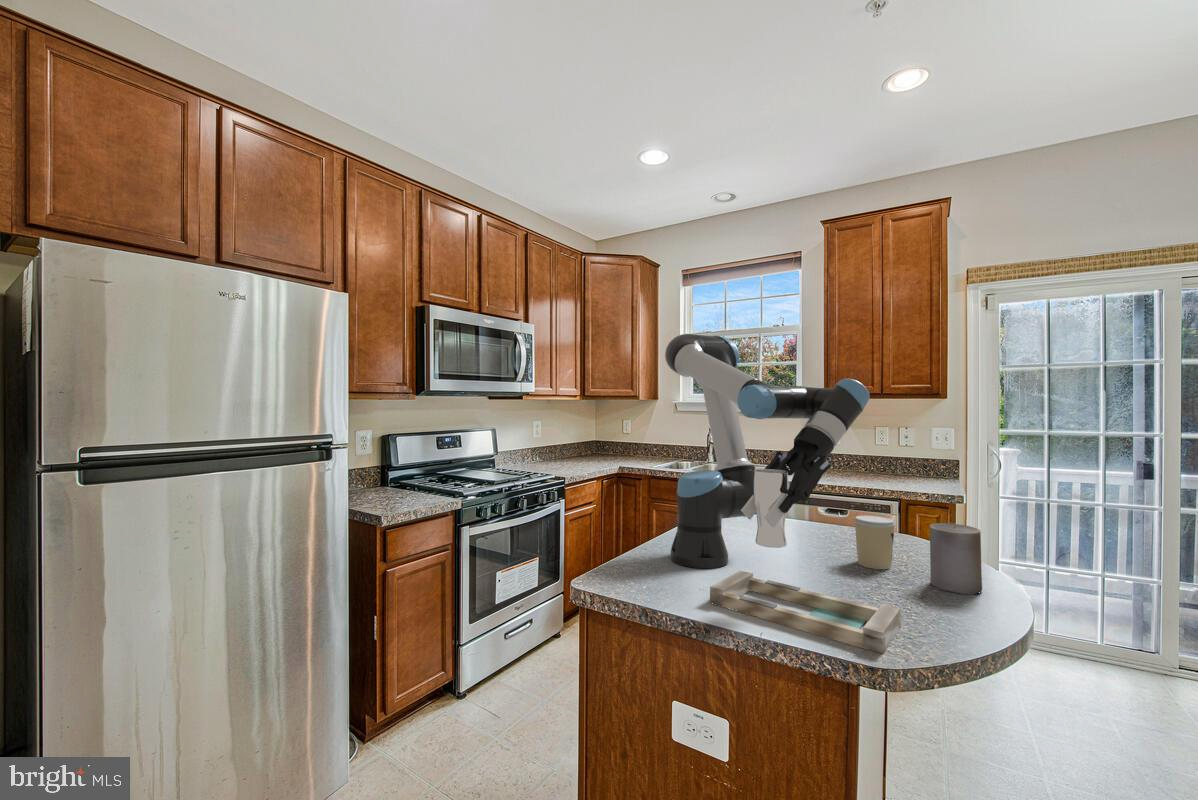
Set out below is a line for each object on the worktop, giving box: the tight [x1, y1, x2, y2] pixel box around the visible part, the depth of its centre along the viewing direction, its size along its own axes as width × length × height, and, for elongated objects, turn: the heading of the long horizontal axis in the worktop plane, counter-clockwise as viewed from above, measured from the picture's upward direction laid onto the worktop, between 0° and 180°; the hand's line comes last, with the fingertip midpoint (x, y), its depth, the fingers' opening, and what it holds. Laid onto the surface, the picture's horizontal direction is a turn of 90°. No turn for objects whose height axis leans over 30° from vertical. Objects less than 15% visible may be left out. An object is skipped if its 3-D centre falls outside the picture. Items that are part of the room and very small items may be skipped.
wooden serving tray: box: [709, 570, 902, 655], centre depth 99 cm, size 32×14×4 cm, turn 49°
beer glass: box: [753, 468, 790, 549], centre depth 104 cm, size 7×7×15 cm
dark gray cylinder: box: [929, 521, 983, 595], centre depth 116 cm, size 10×10×15 cm
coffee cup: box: [854, 515, 896, 570], centre depth 132 cm, size 9×9×12 cm
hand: (757, 518), depth 102 cm, fingers closed on beer glass, 6 cm apart
